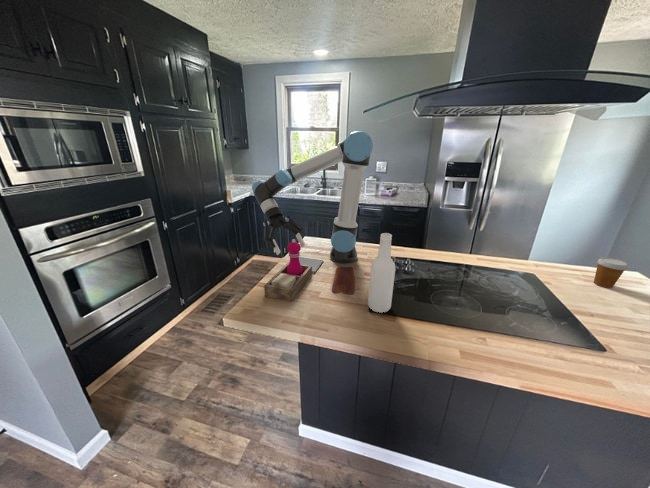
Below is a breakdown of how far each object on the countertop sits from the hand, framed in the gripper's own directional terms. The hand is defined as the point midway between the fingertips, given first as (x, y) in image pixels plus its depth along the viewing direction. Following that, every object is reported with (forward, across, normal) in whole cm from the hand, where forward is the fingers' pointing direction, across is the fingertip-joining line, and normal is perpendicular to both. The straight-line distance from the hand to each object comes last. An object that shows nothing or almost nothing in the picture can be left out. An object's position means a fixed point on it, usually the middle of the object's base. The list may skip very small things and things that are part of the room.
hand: (291, 249), depth 118 cm
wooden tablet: (+23, -18, +1) cm, 29 cm away
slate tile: (+6, -14, -15) cm, 21 cm away
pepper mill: (+11, -1, -10) cm, 15 cm away
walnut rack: (+13, +4, -8) cm, 16 cm away
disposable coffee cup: (+81, -103, +60) cm, 144 cm away
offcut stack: (+15, +9, -6) cm, 19 cm away
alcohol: (+39, -12, +18) cm, 45 cm away
